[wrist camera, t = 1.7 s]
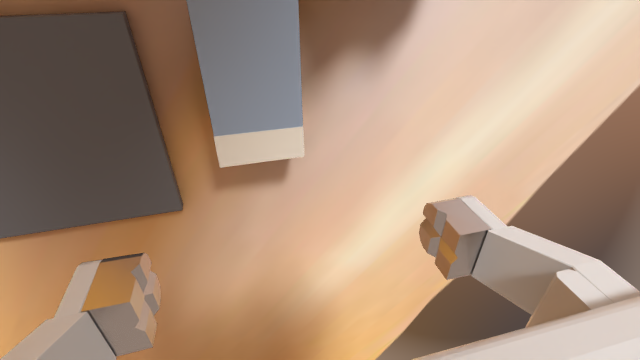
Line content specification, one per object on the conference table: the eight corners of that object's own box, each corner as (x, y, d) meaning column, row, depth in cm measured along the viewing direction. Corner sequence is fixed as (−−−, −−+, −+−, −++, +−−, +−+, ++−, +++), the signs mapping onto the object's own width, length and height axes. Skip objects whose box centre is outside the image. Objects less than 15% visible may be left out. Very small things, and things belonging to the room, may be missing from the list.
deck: (188, -19, 20) (182, -14, 17) (286, -21, 22) (298, -16, 18) (219, 141, 27) (219, 167, 23) (294, 132, 28) (304, 156, 25)
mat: (-166, 22, 17) (-181, 25, 17) (125, 11, 20) (122, 13, 20) (-7, 233, 26) (-12, 240, 25) (183, 204, 29) (182, 210, 28)
